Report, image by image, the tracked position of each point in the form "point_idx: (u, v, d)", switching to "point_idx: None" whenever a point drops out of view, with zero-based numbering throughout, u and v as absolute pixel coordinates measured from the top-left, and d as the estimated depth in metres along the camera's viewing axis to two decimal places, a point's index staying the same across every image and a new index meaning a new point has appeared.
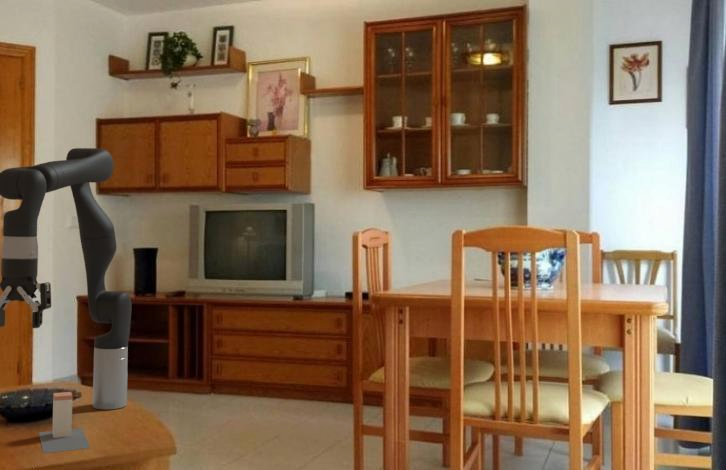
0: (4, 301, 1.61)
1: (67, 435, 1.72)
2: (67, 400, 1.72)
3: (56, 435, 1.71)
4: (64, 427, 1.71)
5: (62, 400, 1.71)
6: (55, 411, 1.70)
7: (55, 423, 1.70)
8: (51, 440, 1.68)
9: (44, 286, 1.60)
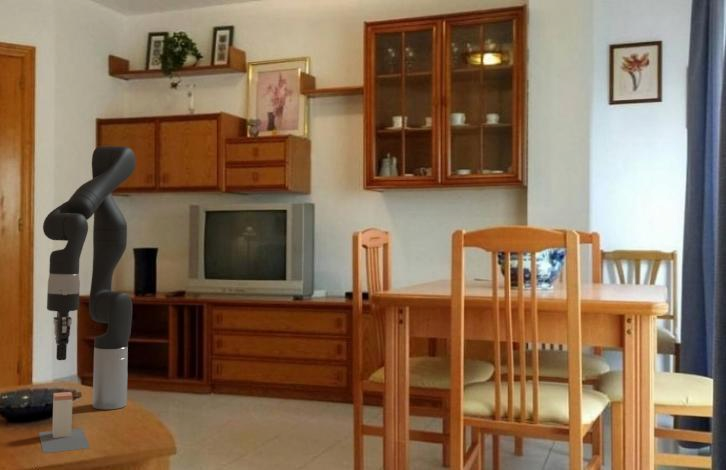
0: None
1: (67, 435, 1.72)
2: (67, 400, 1.72)
3: (56, 435, 1.71)
4: (64, 427, 1.71)
5: (62, 400, 1.71)
6: (55, 411, 1.70)
7: (55, 423, 1.70)
8: (51, 440, 1.68)
9: None
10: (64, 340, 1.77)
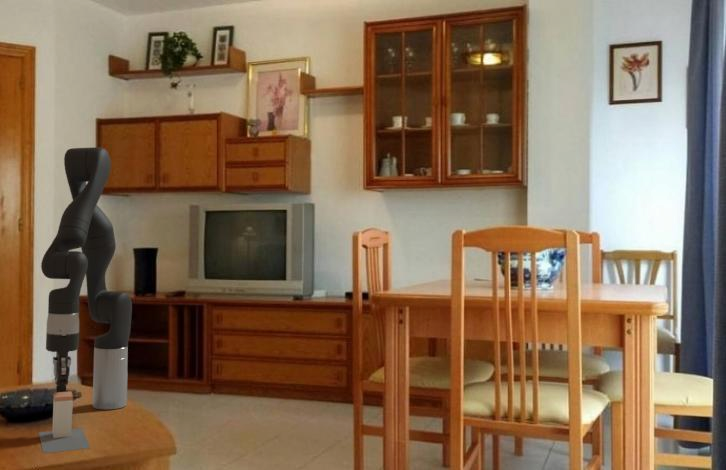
0: None
1: (67, 435, 1.72)
2: (67, 401, 1.71)
3: (56, 435, 1.71)
4: (64, 427, 1.71)
5: (62, 401, 1.70)
6: (55, 412, 1.70)
7: (55, 423, 1.70)
8: (51, 440, 1.68)
9: None
10: (63, 381, 1.73)
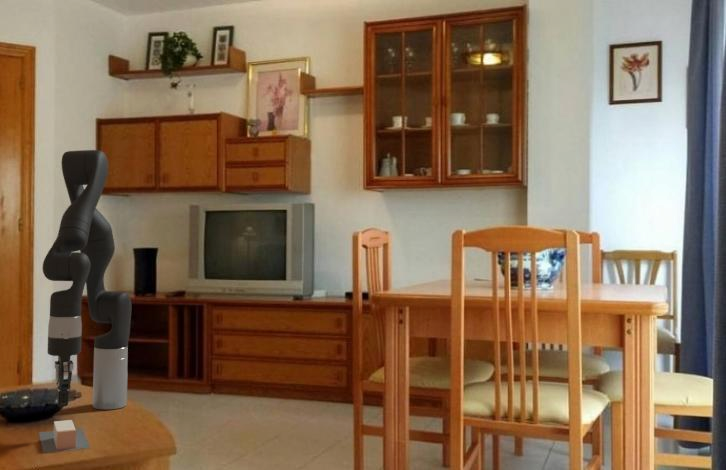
0: None
1: None
2: None
3: None
4: None
5: None
6: None
7: None
8: (51, 440, 1.68)
9: None
10: (66, 386, 1.68)
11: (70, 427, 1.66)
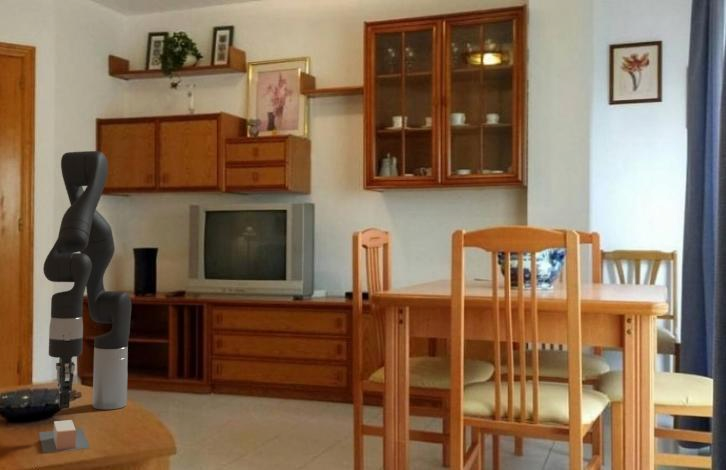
0: None
1: None
2: None
3: None
4: None
5: None
6: None
7: None
8: (51, 440, 1.68)
9: None
10: (67, 388, 1.67)
11: (70, 427, 1.66)
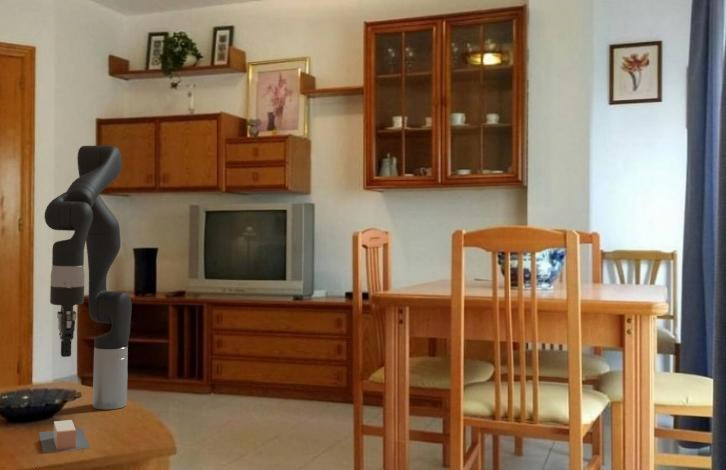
0: None
1: None
2: None
3: None
4: None
5: None
6: None
7: None
8: (51, 440, 1.68)
9: None
10: (69, 336, 1.67)
11: (70, 427, 1.66)
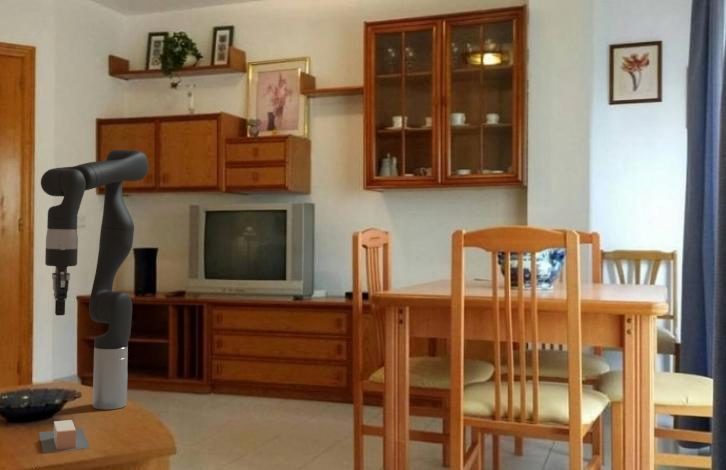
0: None
1: None
2: None
3: None
4: None
5: None
6: None
7: None
8: (51, 440, 1.68)
9: None
10: (63, 295, 1.77)
11: (70, 427, 1.66)
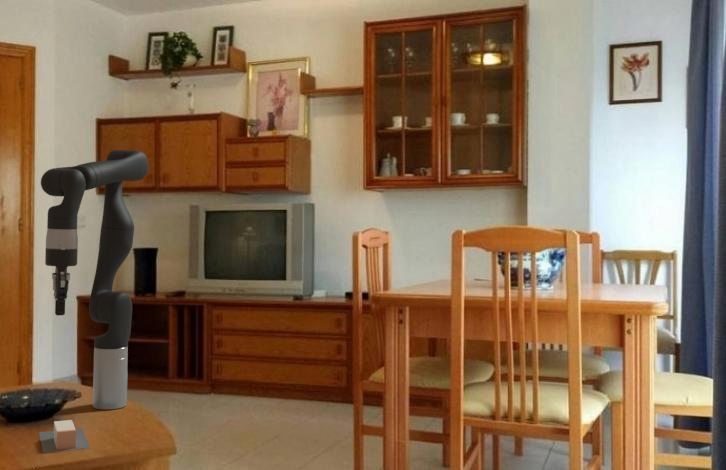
0: None
1: None
2: None
3: None
4: None
5: None
6: None
7: None
8: (51, 440, 1.68)
9: None
10: (63, 295, 1.77)
11: (70, 427, 1.66)
